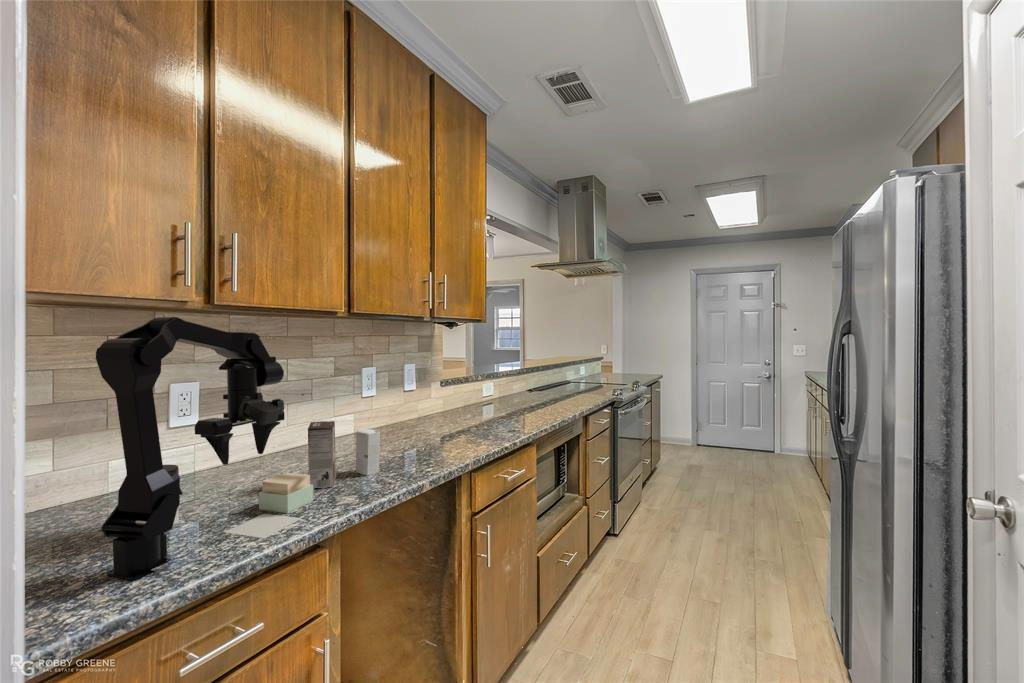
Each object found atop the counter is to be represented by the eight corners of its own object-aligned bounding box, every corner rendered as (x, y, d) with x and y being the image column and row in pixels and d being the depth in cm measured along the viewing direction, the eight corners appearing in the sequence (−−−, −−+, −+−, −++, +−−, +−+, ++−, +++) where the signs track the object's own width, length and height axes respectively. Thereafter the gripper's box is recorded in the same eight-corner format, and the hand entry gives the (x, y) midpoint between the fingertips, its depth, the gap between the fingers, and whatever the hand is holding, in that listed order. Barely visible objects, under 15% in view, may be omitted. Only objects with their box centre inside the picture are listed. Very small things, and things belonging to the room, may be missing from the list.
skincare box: (355, 472, 134) (354, 431, 134) (368, 468, 138) (367, 428, 137) (367, 476, 130) (367, 433, 130) (381, 472, 134) (380, 430, 134)
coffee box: (311, 479, 128) (310, 421, 127) (336, 477, 130) (335, 420, 129) (307, 490, 119) (306, 428, 119) (334, 487, 121) (333, 426, 121)
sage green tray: (287, 516, 102) (287, 495, 102) (259, 512, 104) (258, 492, 104) (313, 503, 109) (313, 484, 109) (286, 500, 112) (285, 481, 112)
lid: (287, 494, 102) (287, 484, 102) (262, 492, 104) (262, 481, 104) (310, 485, 109) (309, 474, 109) (285, 482, 111) (285, 472, 111)
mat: (264, 541, 89) (264, 538, 89) (224, 535, 92) (224, 532, 92) (301, 521, 99) (301, 518, 99) (264, 516, 102) (264, 513, 102)
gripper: (234, 395, 91) (235, 474, 91) (302, 385, 109) (303, 451, 109) (191, 394, 94) (193, 469, 95) (265, 384, 112) (266, 448, 112)
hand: (243, 459), depth 103 cm, fingers open, 9 cm apart
